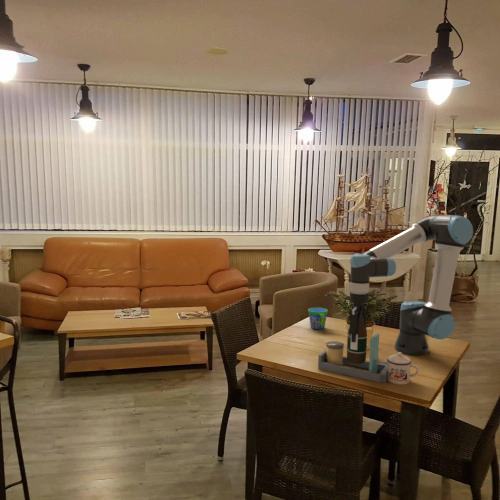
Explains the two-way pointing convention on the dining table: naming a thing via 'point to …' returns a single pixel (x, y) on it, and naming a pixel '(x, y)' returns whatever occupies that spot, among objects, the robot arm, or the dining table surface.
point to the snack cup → (317, 317)
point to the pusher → (374, 354)
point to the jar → (334, 353)
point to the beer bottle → (360, 353)
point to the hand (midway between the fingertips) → (357, 346)
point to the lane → (351, 371)
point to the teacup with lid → (399, 369)
